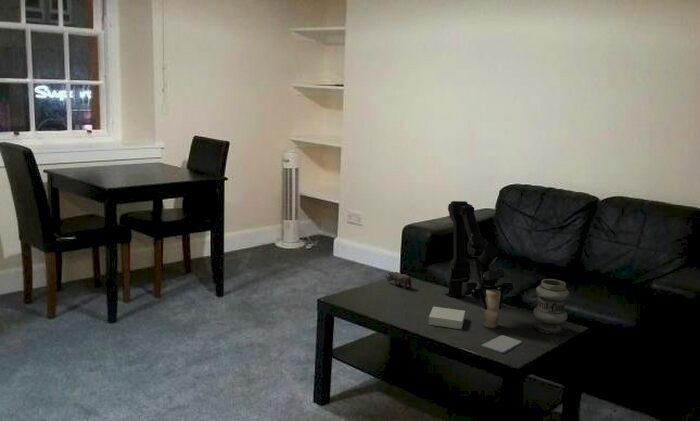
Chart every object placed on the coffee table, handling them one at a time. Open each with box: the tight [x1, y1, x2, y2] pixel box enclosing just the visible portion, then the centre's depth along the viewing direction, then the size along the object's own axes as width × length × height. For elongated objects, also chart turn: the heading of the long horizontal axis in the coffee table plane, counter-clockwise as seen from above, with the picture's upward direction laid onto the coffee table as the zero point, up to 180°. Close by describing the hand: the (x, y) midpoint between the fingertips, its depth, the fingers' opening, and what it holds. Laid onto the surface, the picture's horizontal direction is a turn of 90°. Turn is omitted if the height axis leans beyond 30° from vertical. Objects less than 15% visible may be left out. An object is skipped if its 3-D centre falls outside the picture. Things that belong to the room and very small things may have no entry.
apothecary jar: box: [532, 278, 570, 334], centre depth 245 cm, size 12×12×18 cm
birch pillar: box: [482, 289, 501, 329], centre depth 246 cm, size 5×5×13 cm
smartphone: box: [481, 334, 523, 355], centre depth 229 cm, size 8×1×15 cm
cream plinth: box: [427, 306, 466, 330], centre depth 248 cm, size 12×12×3 cm
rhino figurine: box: [385, 271, 413, 290], centre depth 288 cm, size 4×14×6 cm, turn 47°
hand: (493, 309), depth 245 cm, fingers closed on birch pillar, 5 cm apart
